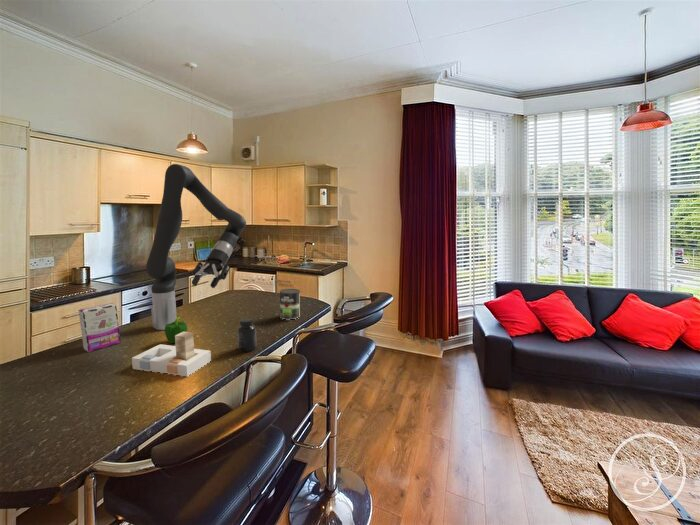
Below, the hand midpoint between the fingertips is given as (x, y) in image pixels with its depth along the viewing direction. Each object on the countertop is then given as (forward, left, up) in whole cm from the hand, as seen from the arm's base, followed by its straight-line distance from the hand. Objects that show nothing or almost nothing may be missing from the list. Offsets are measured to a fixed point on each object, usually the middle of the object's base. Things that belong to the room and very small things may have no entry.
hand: (202, 285), depth 127 cm
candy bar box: (-39, -12, -25) cm, 48 cm away
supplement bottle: (+18, +1, -25) cm, 31 cm away
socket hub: (0, -18, -25) cm, 30 cm away
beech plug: (+5, -18, -25) cm, 31 cm away
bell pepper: (-14, 0, -25) cm, 29 cm away
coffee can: (+18, +42, -25) cm, 52 cm away
